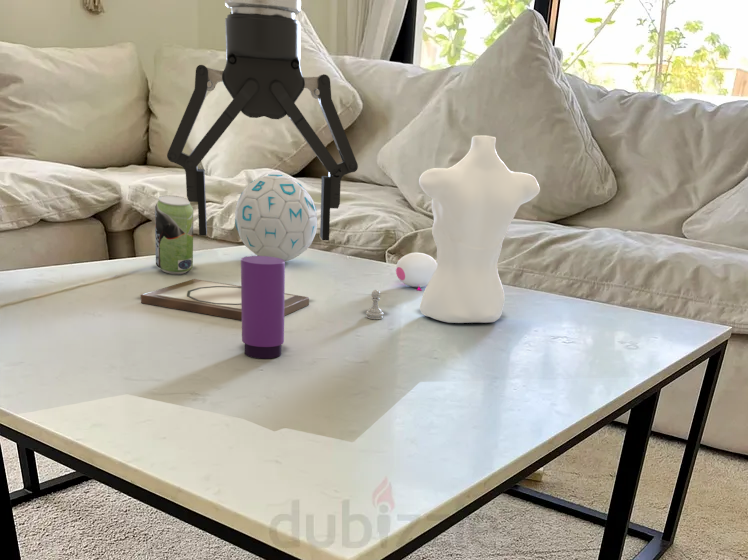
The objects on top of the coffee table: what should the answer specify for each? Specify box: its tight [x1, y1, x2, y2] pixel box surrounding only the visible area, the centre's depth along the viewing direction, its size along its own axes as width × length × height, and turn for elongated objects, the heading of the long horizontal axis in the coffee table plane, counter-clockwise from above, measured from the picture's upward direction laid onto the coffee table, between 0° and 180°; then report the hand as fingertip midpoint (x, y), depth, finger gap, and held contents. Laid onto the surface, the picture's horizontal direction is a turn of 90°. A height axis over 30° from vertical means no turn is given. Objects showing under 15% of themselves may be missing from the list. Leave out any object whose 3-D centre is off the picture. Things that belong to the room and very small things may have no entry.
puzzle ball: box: [234, 173, 318, 262], centre depth 144 cm, size 15×15×15 cm
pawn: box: [365, 289, 384, 320], centre depth 113 cm, size 3×3×4 cm
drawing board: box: [140, 278, 310, 321], centre depth 115 cm, size 20×14×1 cm
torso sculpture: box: [418, 134, 541, 324], centre depth 112 cm, size 18×10×25 cm, turn 108°
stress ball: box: [395, 252, 437, 291], centre depth 135 cm, size 8×8×7 cm
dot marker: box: [240, 255, 286, 360], centre depth 92 cm, size 5×5×11 cm
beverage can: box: [154, 194, 194, 275], centre depth 129 cm, size 6×7×12 cm
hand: (264, 236), depth 88 cm, fingers open, 13 cm apart
